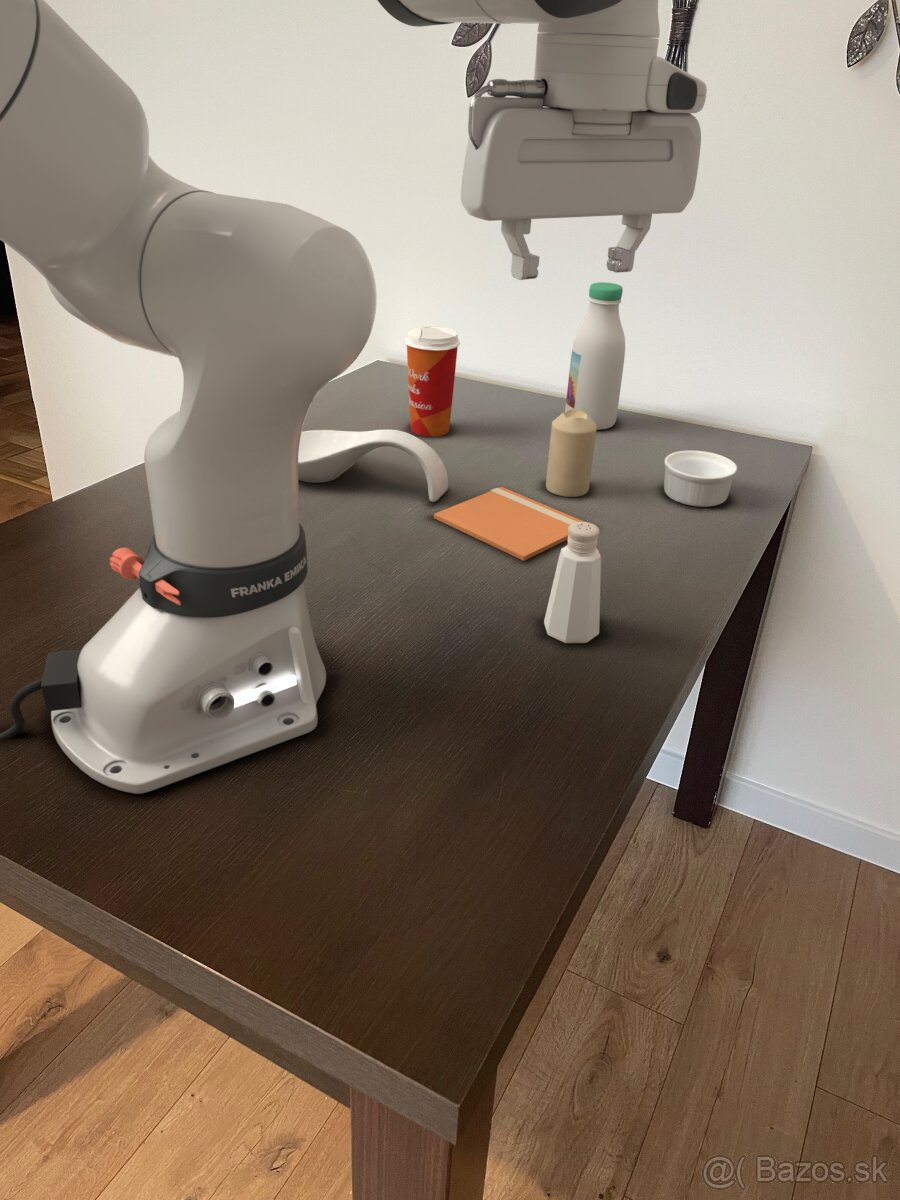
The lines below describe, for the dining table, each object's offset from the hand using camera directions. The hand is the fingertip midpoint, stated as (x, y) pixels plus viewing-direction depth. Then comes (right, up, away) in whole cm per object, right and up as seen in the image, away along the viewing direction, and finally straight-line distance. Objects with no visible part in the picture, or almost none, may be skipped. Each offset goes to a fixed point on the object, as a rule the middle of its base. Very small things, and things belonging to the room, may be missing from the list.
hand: (572, 274), depth 76 cm
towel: (-3, -18, +32) cm, 37 cm away
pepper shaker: (+2, -30, +13) cm, 33 cm away
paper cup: (-13, -2, +58) cm, 59 cm away
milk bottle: (+11, 0, +63) cm, 64 cm away
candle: (+5, -13, +42) cm, 44 cm away
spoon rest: (-22, -12, +41) cm, 48 cm away
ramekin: (+21, -14, +42) cm, 49 cm away
